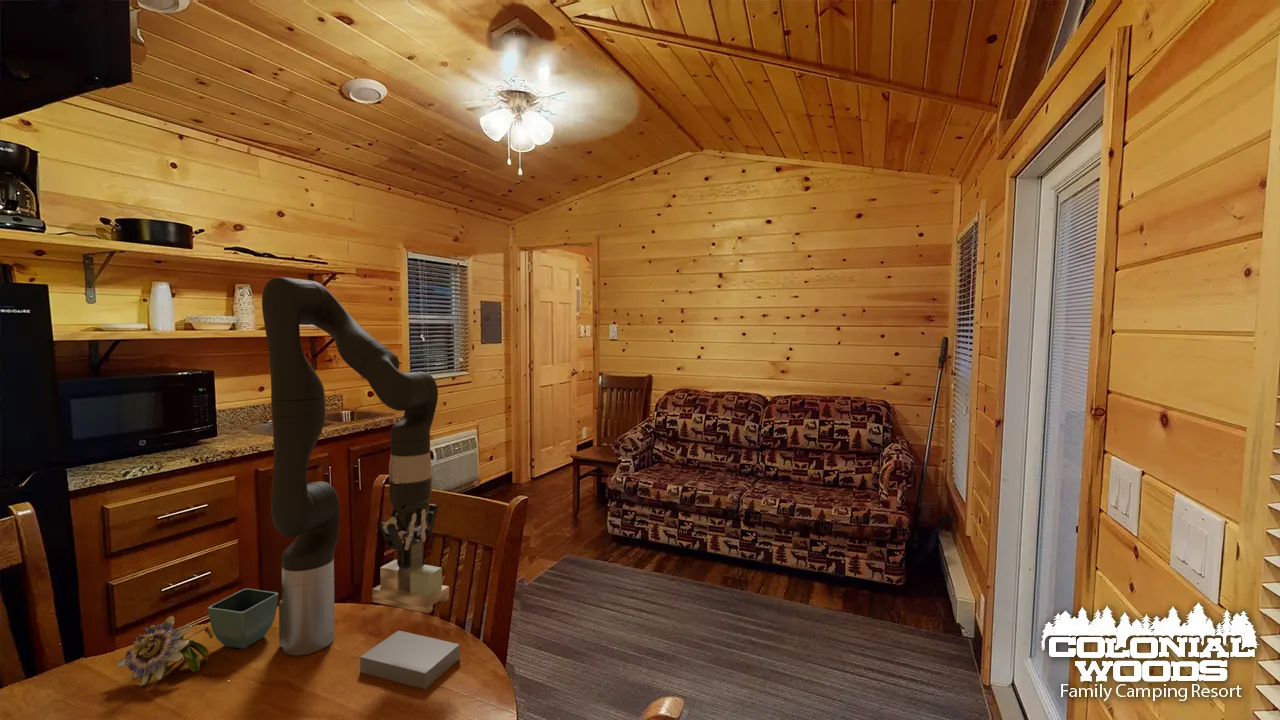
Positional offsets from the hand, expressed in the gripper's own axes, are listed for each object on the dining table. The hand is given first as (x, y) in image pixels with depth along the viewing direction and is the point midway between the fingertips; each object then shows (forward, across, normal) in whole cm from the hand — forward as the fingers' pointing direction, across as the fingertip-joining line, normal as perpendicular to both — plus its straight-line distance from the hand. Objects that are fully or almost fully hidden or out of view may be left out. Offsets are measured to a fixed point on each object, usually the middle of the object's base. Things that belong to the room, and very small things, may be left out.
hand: (410, 563), depth 106 cm
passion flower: (+20, +17, -42) cm, 49 cm away
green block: (+5, 0, +4) cm, 6 cm away
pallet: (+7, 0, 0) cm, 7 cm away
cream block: (+5, 0, -4) cm, 6 cm away
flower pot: (+20, +5, -38) cm, 43 cm away
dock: (+20, 0, 0) cm, 20 cm away
